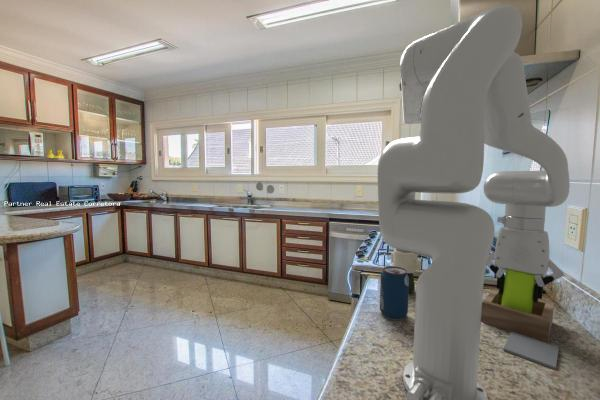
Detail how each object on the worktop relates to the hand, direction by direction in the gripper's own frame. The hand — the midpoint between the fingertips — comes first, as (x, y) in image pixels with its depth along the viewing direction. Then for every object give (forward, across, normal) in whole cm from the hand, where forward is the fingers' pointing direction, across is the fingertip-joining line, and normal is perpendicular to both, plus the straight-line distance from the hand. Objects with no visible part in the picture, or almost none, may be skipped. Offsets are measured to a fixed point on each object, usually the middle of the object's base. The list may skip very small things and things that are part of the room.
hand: (518, 295), depth 68 cm
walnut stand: (+7, 0, 0) cm, 7 cm away
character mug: (+7, -28, -2) cm, 29 cm away
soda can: (+7, -23, -19) cm, 31 cm away
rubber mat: (+7, +4, -12) cm, 14 cm away
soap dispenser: (+7, 0, 0) cm, 7 cm away
